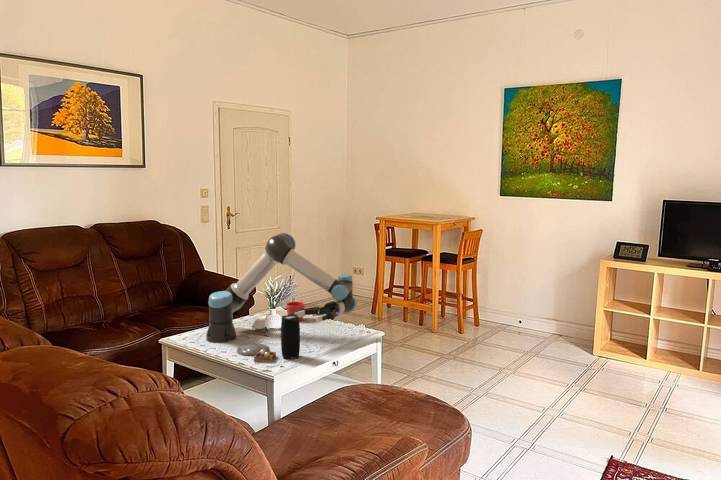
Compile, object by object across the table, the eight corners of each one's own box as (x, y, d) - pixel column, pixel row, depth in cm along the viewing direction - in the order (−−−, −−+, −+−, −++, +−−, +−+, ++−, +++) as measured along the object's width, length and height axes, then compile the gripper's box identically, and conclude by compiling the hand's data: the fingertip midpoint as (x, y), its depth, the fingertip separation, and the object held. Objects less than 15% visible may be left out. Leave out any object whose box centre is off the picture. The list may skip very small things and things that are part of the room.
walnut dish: (259, 355, 257) (258, 351, 257) (275, 356, 256) (275, 352, 256) (254, 361, 249) (254, 357, 249) (271, 362, 248) (271, 357, 248)
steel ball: (260, 354, 256) (260, 348, 255) (267, 354, 255) (267, 348, 255) (258, 356, 253) (258, 350, 252) (265, 356, 252) (265, 350, 252)
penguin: (255, 336, 298) (281, 326, 298) (249, 322, 296) (275, 312, 297) (256, 332, 306) (281, 322, 307) (250, 318, 305) (275, 308, 306)
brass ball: (265, 357, 252) (264, 350, 252) (271, 357, 252) (271, 351, 252) (263, 359, 249) (263, 352, 249) (269, 359, 249) (269, 353, 249)
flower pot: (297, 323, 313) (297, 306, 312) (282, 320, 319) (282, 304, 318) (308, 319, 323) (308, 303, 321) (293, 316, 328) (293, 300, 327)
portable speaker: (291, 352, 262) (291, 312, 259) (304, 357, 255) (304, 316, 253) (277, 356, 256) (276, 315, 253) (289, 361, 249) (289, 319, 247)
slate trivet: (242, 345, 272) (242, 343, 272) (272, 346, 271) (272, 344, 271) (232, 355, 258) (232, 352, 257) (264, 356, 256) (263, 354, 256)
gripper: (353, 319, 271) (326, 329, 254) (315, 312, 286) (286, 321, 269) (353, 304, 271) (326, 313, 253) (314, 298, 285) (286, 306, 268)
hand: (305, 317), depth 261 cm, fingers open, 13 cm apart
